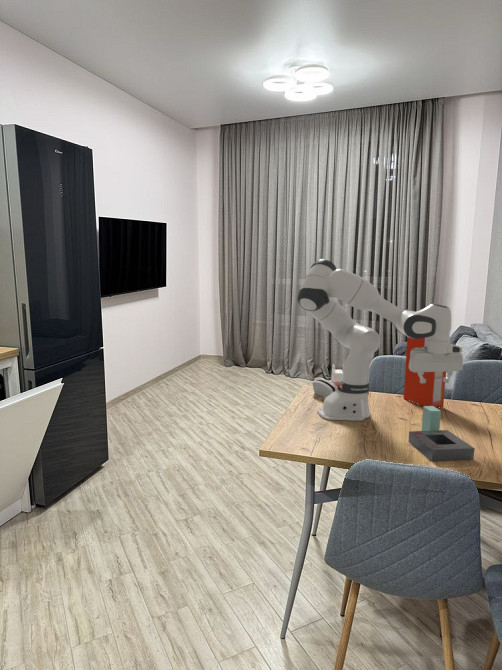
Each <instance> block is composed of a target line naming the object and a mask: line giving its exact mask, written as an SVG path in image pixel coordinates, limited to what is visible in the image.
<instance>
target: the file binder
mask: <svg viewBox="0 0 502 670" xmlns="http://www.w3.org/2000/svg"><path fill="white" fill-rule="evenodd" d="M406 337H407V338H406V340H407V341H406V353H405V355H406V356H405V368H404V384H403V385H404V386H403V388H404V389H403V399H404V400H405V399H407V400H410V401H413V402H415V403H418V404H420V405H423V406H434V407H435V408H437V409H440V408H439V407H442V408H444V403H445V401H444V400H445V389H446V383H445V382H443V380H444V379H443V377H446V375H447V373H446V371H444V372H424V375H422V376H423V378H425V379H426V383H420V377H419V376H418V372H412V371H410V369H409V361H410V352H411V350H412V349H414V348H416V347H417V348H421V347H424V346H425V338H419V339H412V338H409V337H408V336H406ZM407 400H406V401H407ZM410 401H409V402H410ZM413 402H412V403H413ZM415 403H414V404H415ZM418 404H417V405H418ZM420 405H419V406H420ZM423 406H422V407H423Z"/></svg>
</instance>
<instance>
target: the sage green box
mask: <svg viewBox="0 0 502 670" xmlns="http://www.w3.org/2000/svg"><path fill="white" fill-rule="evenodd" d="M422 408H423V409H422V421H421V430H420V431H436V430H440V427H441V426H440V425H441V413H442V411H441V409H440V408H435V407H434V406H422Z"/></svg>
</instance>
